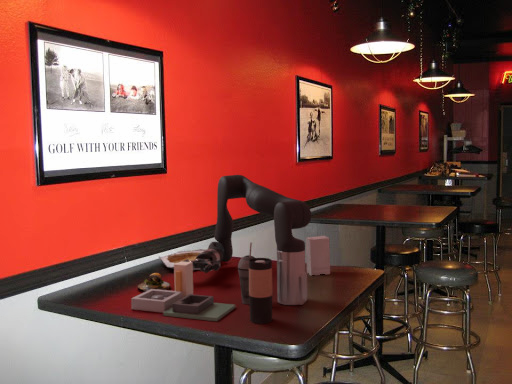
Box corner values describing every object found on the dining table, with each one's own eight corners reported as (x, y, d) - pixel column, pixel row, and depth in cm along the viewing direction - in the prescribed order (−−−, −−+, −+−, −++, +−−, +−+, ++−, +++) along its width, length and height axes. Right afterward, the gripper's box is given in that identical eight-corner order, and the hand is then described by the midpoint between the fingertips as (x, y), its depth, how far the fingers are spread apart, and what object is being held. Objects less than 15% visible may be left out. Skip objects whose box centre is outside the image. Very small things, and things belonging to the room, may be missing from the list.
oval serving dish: (235, 262, 238) (200, 254, 253) (234, 253, 238) (200, 246, 253) (178, 277, 215) (144, 268, 230) (178, 267, 214) (144, 258, 230)
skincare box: (325, 271, 218) (325, 235, 216) (330, 274, 212) (330, 237, 211) (305, 272, 216) (305, 236, 215) (310, 276, 210) (310, 238, 209)
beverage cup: (247, 297, 181) (246, 239, 180) (264, 301, 177) (263, 241, 175) (233, 302, 176) (232, 242, 174) (250, 306, 171) (249, 245, 169)
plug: (193, 296, 184) (192, 262, 183) (184, 301, 178) (183, 266, 177) (181, 295, 185) (181, 261, 184) (172, 300, 179) (171, 265, 178)
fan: (201, 298, 182) (201, 288, 182) (175, 314, 165) (175, 302, 165) (160, 294, 187) (160, 284, 187) (131, 309, 171) (131, 298, 170)
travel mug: (253, 315, 162) (252, 257, 160) (275, 317, 160) (274, 258, 159) (246, 323, 155) (245, 262, 154) (269, 325, 153) (268, 263, 152)
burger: (130, 290, 194) (130, 270, 194) (157, 283, 203) (156, 264, 202) (150, 296, 186) (150, 275, 186) (177, 289, 195) (176, 269, 194)
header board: (235, 307, 170) (235, 297, 170) (216, 321, 157) (216, 309, 157) (185, 302, 177) (184, 292, 176) (163, 315, 164) (162, 304, 163)
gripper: (190, 249, 210) (175, 258, 194) (225, 251, 207) (213, 260, 191) (190, 268, 210) (175, 279, 195) (225, 270, 207) (213, 280, 191)
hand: (194, 269), depth 193 cm, fingers open, 8 cm apart
